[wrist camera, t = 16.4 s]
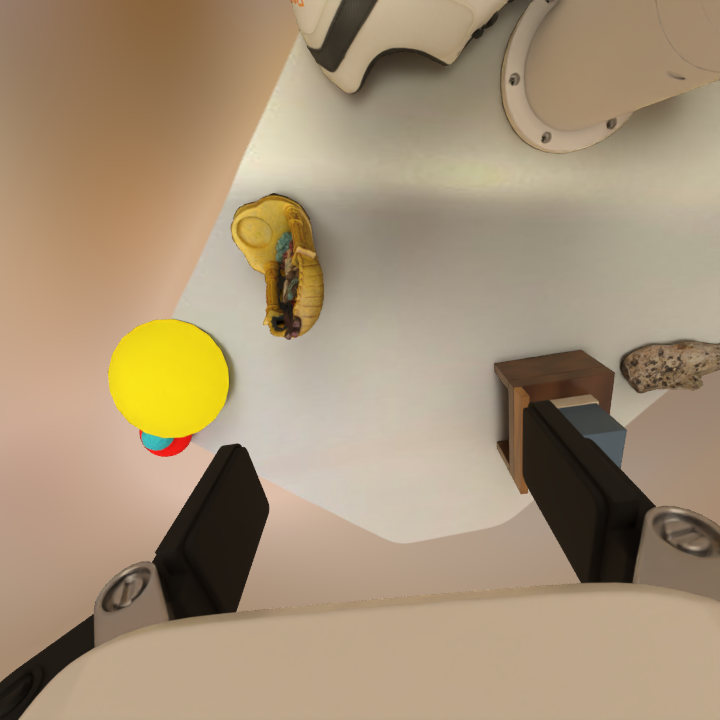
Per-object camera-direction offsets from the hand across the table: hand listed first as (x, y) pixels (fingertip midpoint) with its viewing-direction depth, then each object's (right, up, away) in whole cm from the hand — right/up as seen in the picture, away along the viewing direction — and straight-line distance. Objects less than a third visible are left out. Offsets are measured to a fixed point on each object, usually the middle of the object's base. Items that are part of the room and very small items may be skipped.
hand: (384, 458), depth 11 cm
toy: (-24, 0, +34) cm, 41 cm away
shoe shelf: (+21, -2, +31) cm, 38 cm away
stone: (+37, +1, +26) cm, 45 cm away
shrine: (-8, +15, +25) cm, 30 cm away
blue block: (+21, -5, +26) cm, 34 cm away
